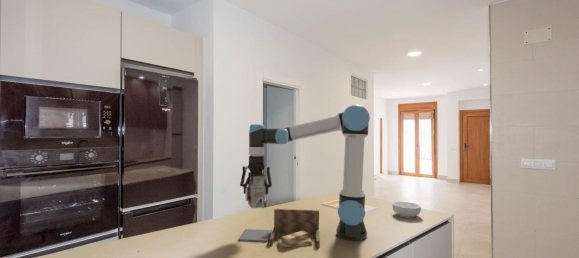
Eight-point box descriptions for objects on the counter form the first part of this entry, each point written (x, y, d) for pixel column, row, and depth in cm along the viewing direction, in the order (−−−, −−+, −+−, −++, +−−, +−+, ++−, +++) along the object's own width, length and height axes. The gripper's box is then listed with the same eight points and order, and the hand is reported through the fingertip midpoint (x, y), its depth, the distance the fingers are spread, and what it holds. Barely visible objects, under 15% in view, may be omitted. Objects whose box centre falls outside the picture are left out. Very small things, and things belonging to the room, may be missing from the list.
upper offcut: (302, 235, 139) (302, 230, 139) (308, 238, 136) (308, 232, 136) (281, 242, 131) (281, 236, 131) (287, 245, 128) (287, 239, 128)
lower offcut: (308, 242, 137) (308, 237, 137) (311, 246, 133) (311, 240, 133) (278, 245, 134) (278, 239, 134) (279, 249, 129) (280, 243, 129)
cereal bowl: (424, 220, 171) (424, 208, 171) (395, 219, 173) (395, 207, 173) (416, 212, 187) (416, 201, 187) (389, 211, 190) (390, 200, 190)
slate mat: (271, 231, 149) (271, 230, 149) (267, 242, 136) (267, 240, 136) (245, 230, 151) (245, 229, 151) (238, 240, 137) (238, 239, 137)
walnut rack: (318, 233, 147) (319, 210, 148) (319, 247, 130) (319, 221, 130) (274, 231, 149) (274, 208, 149) (269, 245, 131) (269, 219, 131)
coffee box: (247, 203, 146) (247, 172, 146) (259, 203, 149) (260, 171, 149) (251, 208, 138) (251, 175, 138) (264, 207, 140) (264, 174, 140)
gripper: (278, 155, 146) (277, 199, 146) (237, 154, 148) (237, 198, 148) (276, 156, 139) (275, 203, 139) (233, 155, 140) (233, 201, 140)
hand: (255, 200), depth 143 cm, fingers closed on coffee box, 8 cm apart
